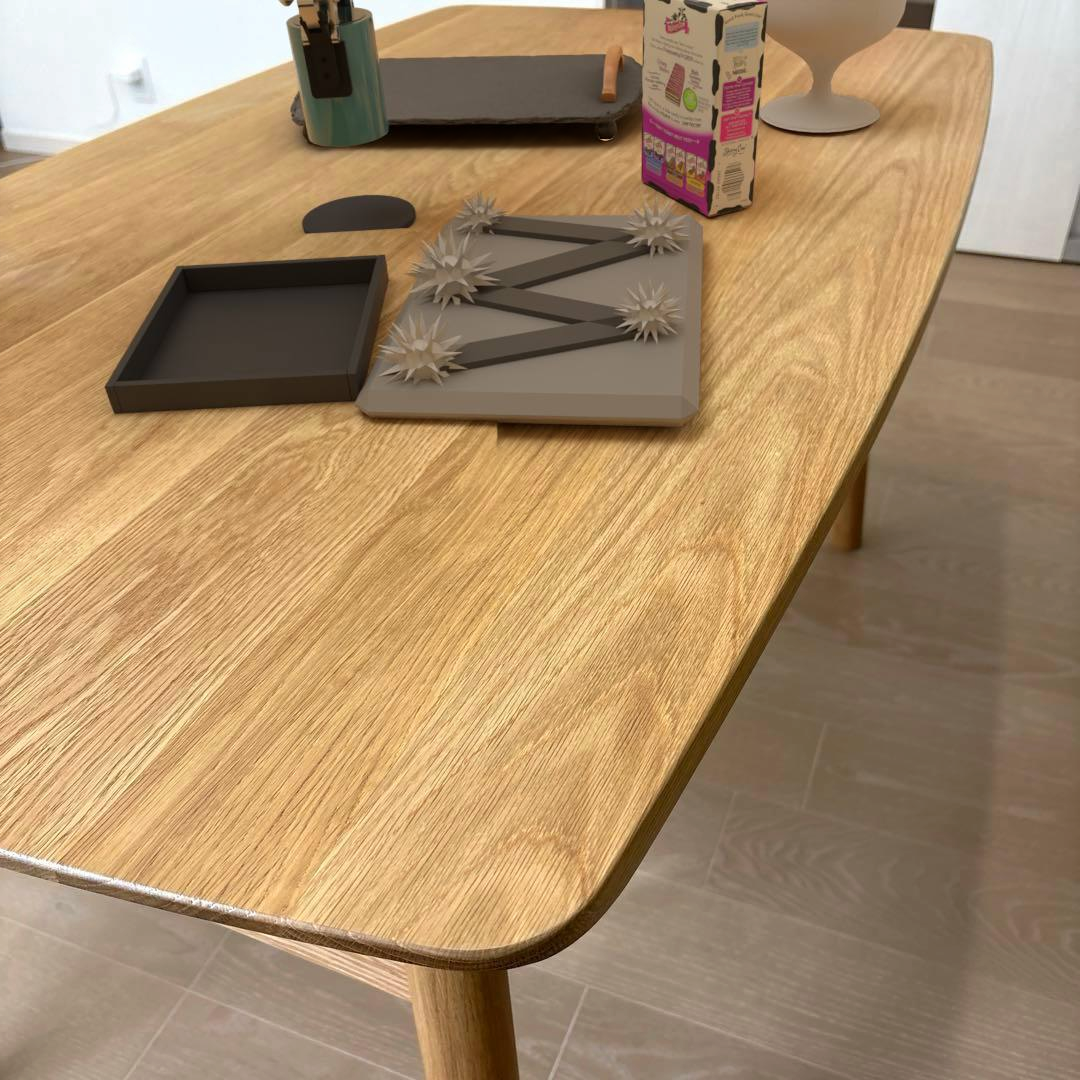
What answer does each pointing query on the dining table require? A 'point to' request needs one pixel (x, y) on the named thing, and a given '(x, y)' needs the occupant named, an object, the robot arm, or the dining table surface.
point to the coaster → (360, 214)
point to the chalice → (826, 58)
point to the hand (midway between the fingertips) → (339, 80)
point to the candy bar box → (702, 100)
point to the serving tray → (508, 90)
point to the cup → (366, 105)
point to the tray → (254, 336)
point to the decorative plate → (548, 322)
